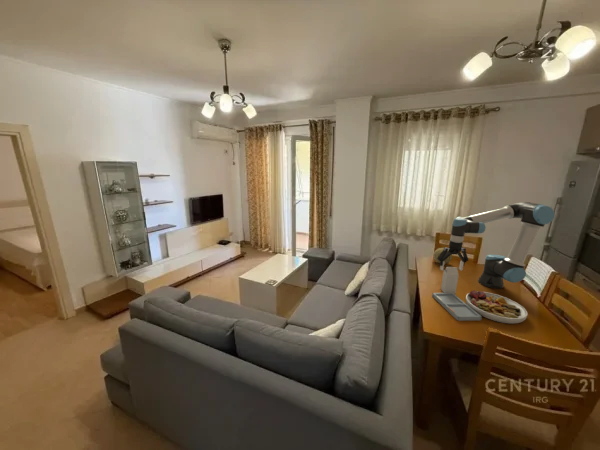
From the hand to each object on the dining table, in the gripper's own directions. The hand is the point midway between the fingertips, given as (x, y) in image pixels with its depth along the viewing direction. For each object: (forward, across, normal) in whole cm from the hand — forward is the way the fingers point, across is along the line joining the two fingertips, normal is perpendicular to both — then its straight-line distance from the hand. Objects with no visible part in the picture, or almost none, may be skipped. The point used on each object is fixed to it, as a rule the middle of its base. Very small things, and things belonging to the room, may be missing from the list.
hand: (451, 270), depth 169 cm
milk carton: (+17, 0, 0) cm, 17 cm away
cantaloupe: (+17, -27, -51) cm, 60 cm away
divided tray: (+17, +7, +19) cm, 26 cm away
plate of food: (+17, -15, +23) cm, 33 cm away
